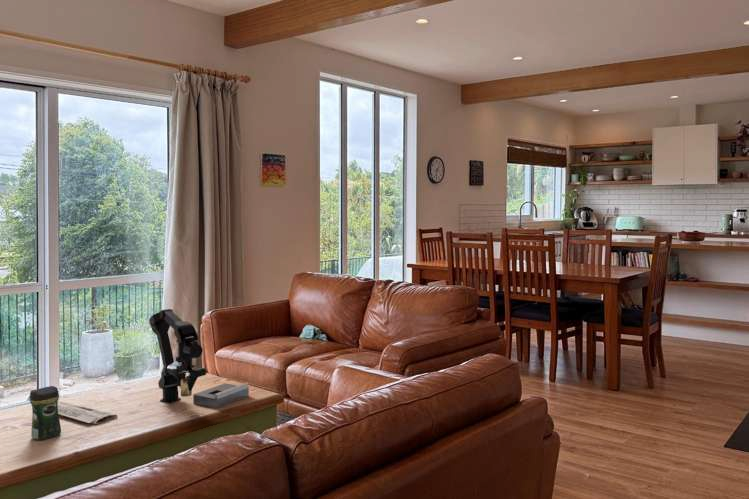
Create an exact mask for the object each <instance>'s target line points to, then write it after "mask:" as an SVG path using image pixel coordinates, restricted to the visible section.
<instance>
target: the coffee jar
mask: <svg viewBox="0 0 749 499" xmlns="http://www.w3.org/2000/svg"><path fill="white" fill-rule="evenodd" d="M29 393H30V394H29V402H30V405H31V409H32V411H31V412H32V414H31V415H32V419H31V438H32V439H33V440H36V441H43V440H47V439H51V438H52V439H53V438H54V437H56V436H59V435H60V434H62V428H61V426H62V425H61V421H60V415H59V414H58V402H59V399H60V393H59V388H58V387H57V386H54V385H50V386H44V387H41V388H36V389H32V390H30V392H29Z"/></svg>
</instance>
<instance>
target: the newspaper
mask: <svg viewBox="0 0 749 499" xmlns="http://www.w3.org/2000/svg"><path fill="white" fill-rule="evenodd" d="M58 414H59V416H62V417H66V418H69V419H73V420H76V421H79V422H83V423H87V424H93V425H97V426H98V425H99V424H100V423H99V422H98V421H99V420H105V421H109V420H113V419H117V418H118V415H117V414H115V413H110V412H107V411H102V410H97V409H94V408H91V407H90V408H89V407H84V406H80V405H76V404H72V403H68V402H63V401H58Z"/></svg>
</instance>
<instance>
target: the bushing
mask: <svg viewBox="0 0 749 499" xmlns="http://www.w3.org/2000/svg"><path fill="white" fill-rule="evenodd" d="M180 380H181V388H180V397H191V396H193V393H192V391H189V388H188V379H187V378H186V376H185V378H181V379H180Z"/></svg>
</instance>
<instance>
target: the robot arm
mask: <svg viewBox="0 0 749 499" xmlns="http://www.w3.org/2000/svg"><path fill="white" fill-rule="evenodd" d="M150 316H151V317H149V320H148V323H149V326H150V328H151V331H152V332H153V333H154V334H155V335H156V337H157V341H158V347H159V352H160V357H161V361H162V366H163V367H162V370H161V373H160V375H161V376H160V378H159V381H158V389H162V398H161V399H159V401H160V402H163V403H167V404H168V403H169V404H172V403H174V402H177V401H180V400H181V397H179V388H180V389H181V380H180V379H181V378H185V377H186V378H187V379H188V388H189V391H192V390H193V388H194V386H195V384H196V381H197V379H198V378H200V377H203V376H206V375H207V368H205V367H201V366H200V367H199V366H198V367H195V366H196V365H195V364H193V359H198V358H200V357H202V354H203V350H204V349H203V347H202V346H201V345H200V344H199V343H198V341H199V335H198V333H197V331H196V328H195V326H194V325H193V324H192V323H190V322H189V321H183V319H181V318H180V316H178V315H177V314H176V313H174V310H173V309H171V308H167V309H161V310H159V311H158V312H156V313H155V314H152V315H150ZM170 327H171V328H172V329H173V334H174V336H175V337H176V343H177V351H178V352H177V356H176V357H174V354H173V350H172V346H171V341H170V335H169V330H170ZM174 358H175V359H174ZM187 374H188V375H187ZM178 387H179V388H178Z"/></svg>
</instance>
